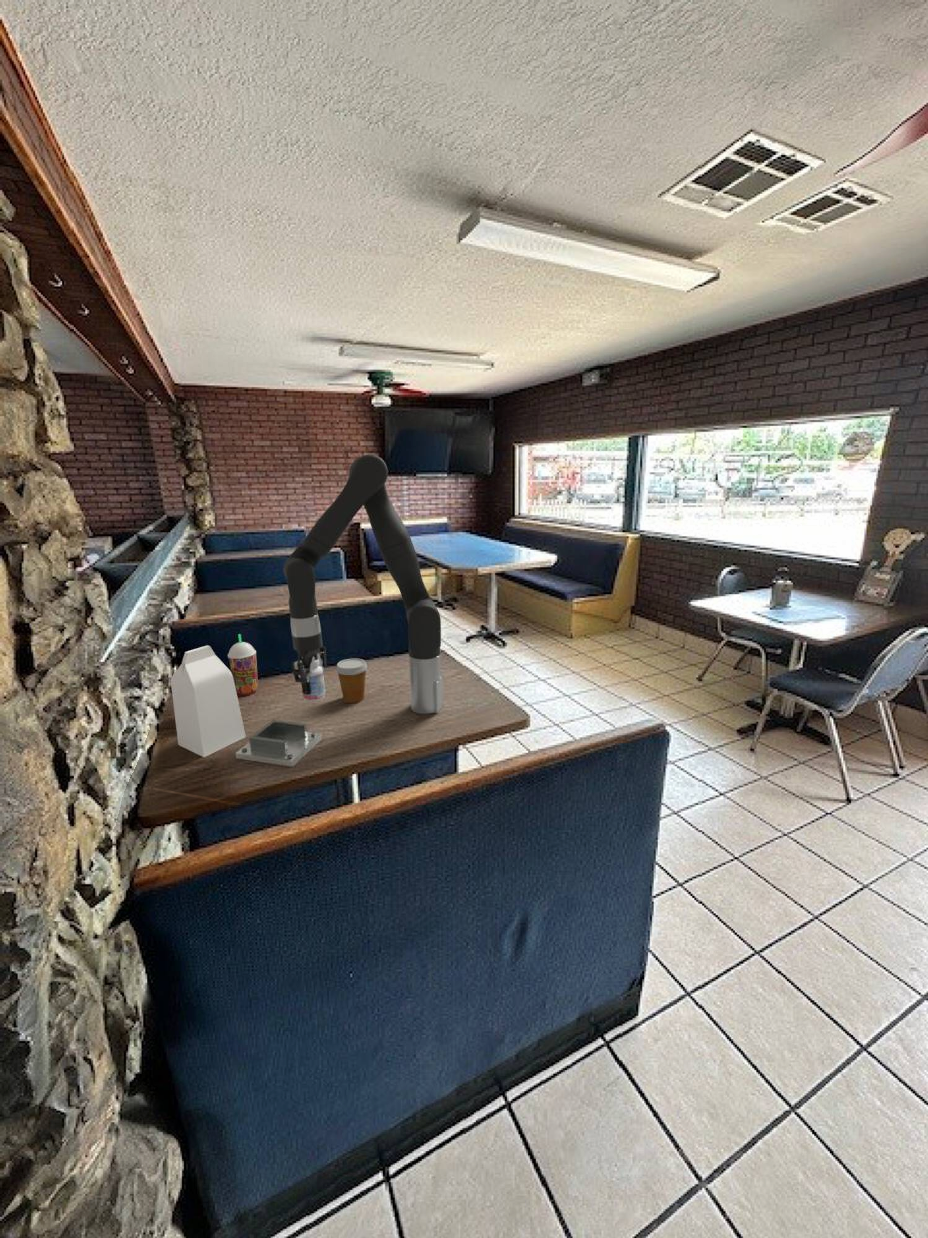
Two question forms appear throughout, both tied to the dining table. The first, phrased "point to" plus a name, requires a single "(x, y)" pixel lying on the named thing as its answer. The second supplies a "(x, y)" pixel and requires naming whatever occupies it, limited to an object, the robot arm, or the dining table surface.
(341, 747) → the dining table surface
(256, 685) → the smoothie
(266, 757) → the mounting bracket
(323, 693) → the pill bottle
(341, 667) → the disposable coffee cup
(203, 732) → the milk
